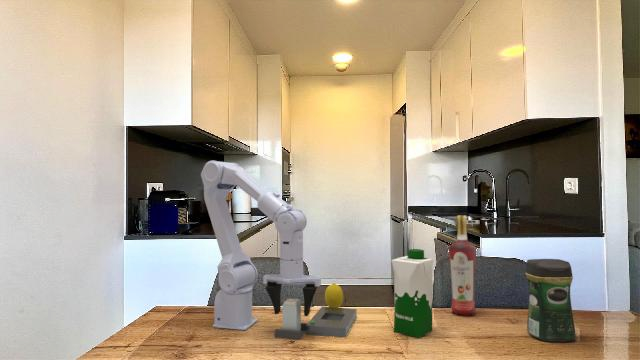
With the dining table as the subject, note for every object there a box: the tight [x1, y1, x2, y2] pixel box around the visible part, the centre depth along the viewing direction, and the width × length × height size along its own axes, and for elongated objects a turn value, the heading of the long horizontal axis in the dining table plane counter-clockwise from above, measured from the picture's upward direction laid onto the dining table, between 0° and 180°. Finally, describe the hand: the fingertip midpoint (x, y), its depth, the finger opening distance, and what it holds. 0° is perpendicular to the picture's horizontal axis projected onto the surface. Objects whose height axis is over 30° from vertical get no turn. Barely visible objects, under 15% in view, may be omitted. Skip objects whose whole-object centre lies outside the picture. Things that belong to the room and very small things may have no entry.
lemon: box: [324, 282, 344, 308], centre depth 114 cm, size 6×6×8 cm
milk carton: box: [390, 248, 434, 339], centre depth 97 cm, size 9×9×20 cm
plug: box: [281, 298, 302, 331], centre depth 95 cm, size 4×4×8 cm
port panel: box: [305, 306, 358, 338], centre depth 101 cm, size 10×16×3 cm, turn 165°
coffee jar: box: [525, 258, 576, 342], centre depth 92 cm, size 10×8×19 cm
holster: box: [274, 322, 308, 341], centre depth 95 cm, size 6×7×2 cm
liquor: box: [448, 215, 477, 317], centre depth 111 cm, size 7×7×28 cm
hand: (292, 313), depth 95 cm, fingers open, 7 cm apart
